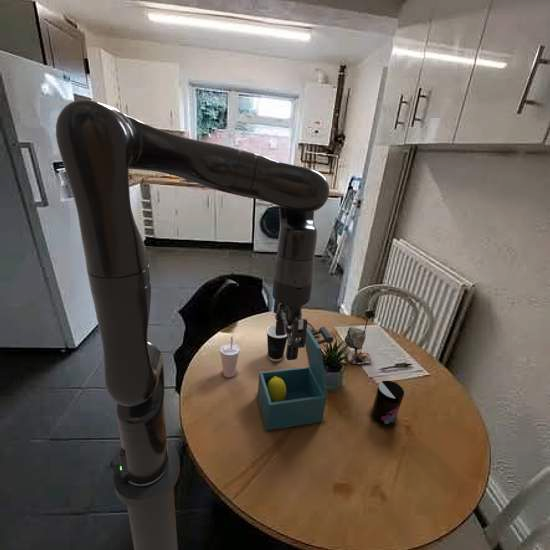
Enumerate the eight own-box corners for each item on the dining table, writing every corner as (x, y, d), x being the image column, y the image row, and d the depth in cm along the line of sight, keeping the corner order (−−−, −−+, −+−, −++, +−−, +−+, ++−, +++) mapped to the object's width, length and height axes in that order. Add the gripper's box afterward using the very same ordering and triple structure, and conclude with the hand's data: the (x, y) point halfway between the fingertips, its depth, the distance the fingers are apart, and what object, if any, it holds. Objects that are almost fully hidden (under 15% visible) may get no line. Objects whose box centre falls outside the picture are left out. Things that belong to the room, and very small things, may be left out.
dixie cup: (264, 364, 106) (266, 337, 101) (263, 349, 113) (265, 324, 109) (287, 364, 106) (290, 337, 102) (285, 350, 114) (288, 324, 110)
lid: (317, 348, 74) (339, 341, 75) (300, 321, 86) (319, 315, 86) (325, 396, 82) (344, 389, 82) (308, 365, 93) (326, 359, 94)
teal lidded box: (266, 430, 81) (269, 405, 78) (257, 395, 92) (259, 371, 89) (321, 421, 85) (326, 397, 82) (306, 388, 96) (309, 366, 93)
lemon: (276, 400, 92) (272, 373, 92) (291, 402, 88) (288, 373, 89) (264, 407, 87) (261, 378, 88) (280, 409, 84) (277, 379, 84)
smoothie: (242, 376, 99) (244, 339, 94) (224, 383, 96) (225, 345, 90) (233, 364, 104) (234, 329, 99) (215, 370, 101) (216, 334, 95)
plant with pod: (340, 348, 118) (349, 301, 110) (371, 355, 115) (382, 308, 107) (338, 361, 110) (348, 312, 103) (371, 368, 108) (383, 319, 100)
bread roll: (320, 337, 124) (321, 329, 122) (302, 341, 120) (303, 333, 119) (306, 323, 132) (307, 316, 131) (289, 326, 129) (290, 319, 127)
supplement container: (374, 426, 85) (382, 397, 81) (368, 407, 92) (375, 379, 88) (398, 428, 85) (408, 399, 81) (391, 409, 92) (399, 381, 88)
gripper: (266, 263, 65) (261, 329, 71) (285, 293, 52) (277, 370, 59) (299, 262, 67) (292, 326, 73) (325, 292, 54) (313, 366, 60)
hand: (285, 346), depth 66 cm, fingers open, 8 cm apart
